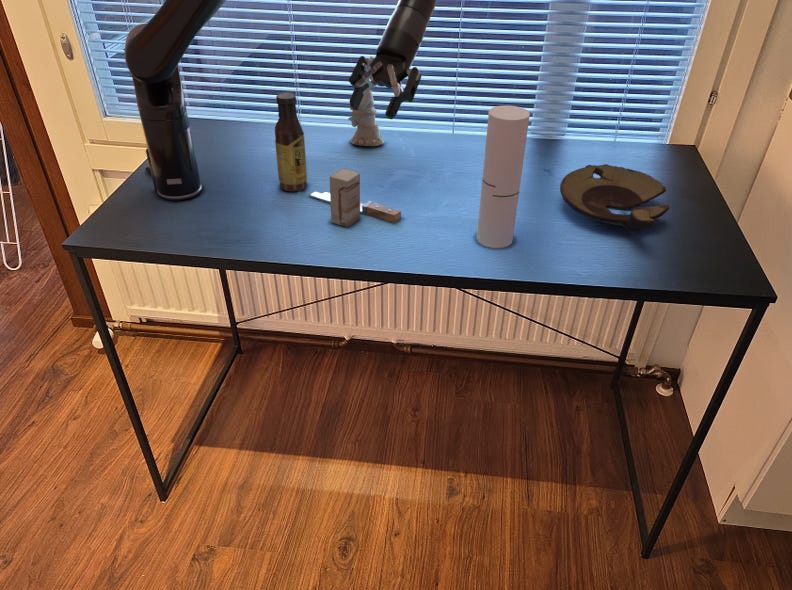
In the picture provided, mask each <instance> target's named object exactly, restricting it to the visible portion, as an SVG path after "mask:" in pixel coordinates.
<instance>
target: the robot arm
mask: <svg viewBox="0 0 792 590" xmlns="http://www.w3.org/2000/svg"><path fill="white" fill-rule="evenodd" d="M226 2H227V0H164V2H163V3H162V5H161V6H160V7H159V9H158V10H157V12H156V13H154V15H153V16H152V18H150V20H149V21H147V23H140V24H137V25H135V26H134V27H132V28H131V29H130V31H129V32H128V33H127V36H126V38H125V41H124V42H125V43H124V54H123V55H124V62H125V65H126V67H127V69H128V71H129V73H130V74H131V78H132V83H133V87H134V94H135V99H136V100H135V101H136V104H137V106H136V107H137V109H138V114H139V118H140V121H141V123H140V124H141V126H142V130H143V134H144V138H145V139H144V140H145V143H146V147H147V148H145V154H146V158H147V162H148V163H147V164H148V166H146V168H145V171H146V172H147V173H148V174H150V175H151V179H152V184H153V187H154V191H155V192H156V193H157V195H158V196H159V198H161V199H163V200H166V201H172V202H173V201H176V202H177V201H186V200H189V199H192V198H194V197H197V196H198V195H200V194H201V192H202V190H203V186H202V183H201V179H200V173H199V167H198V162H197V159H196V152H195V146H194V142H193V141H194V140H193V136H192V131H191V126H190V121H189V116H188V110H187V106H186V99H185V93H184V88H183V82H182V78H181V72H180V66H179V63H180V62H181V60H182V59H183V57H184V55H185V54H186V52H187V50H188V49H189V47H190V46H191V44H192V43H193V41H194V39H196V37H197V34H199V32H200V31H201V30H202V29H203V28H204V27H205V26H206V25H207V24H208V23H209V21H210V20H211V19H212V18H213V17H214V16H215V15H216V13H217V12H218V11H219V10H220V8H222V6H223V5H224V4H226ZM436 4H437V0H398V2H397V5H396V7H395V9H394V10H393V12H392V14H391V15H390V18H389V20H388V21H387V25H386V27H385V29H384V32H383V33H382V36H381V39H380V41H379V43H378V45H377V48H376V53H375V56H374V57H373V58H374V59H373V60H372V61H370V60H369V59H367V58H366V57H365V55H360V56H359V58H358V60H357V62H356V64H355V66H354V68H353V70H352V72H351V74H350V77H348V82H349V84H350V86H352V88H353V91H352V94H351V96H350V99H349V101H348V102H349V103H348V104H349V107H350V106H351V108H352V109H353V110H358V108H359V105H360V103H361V101H362V98H363V96H364V94H363V93H365V92H366V91H367V90H368V89H370V88H374V87H377V86H378V87H386V88H387V89H392V92H393V96H391V99H390V100H389V103H388V105H387V107H386V110H385V116H386V118H387V119H388V120H393V119H394V118H395V117H396V116H397V114H398V113H399V109H401V105H402V104H403V103H404V102H408V103H412V102H413V101H414V98H415V96H416V93H417V90H418V87H419V85H420V83H421V79H422V74H421V72H420V70H419V69H418V67H417V66H413V63H414V61H415V59H416V56H417V54H418V52H419V49H420V47H421V44H422V43H423V39H424V37H425V35H426V31H427V27H428V25H429V23H430V20H431V18H432V16H433V13H434V11H435V7H436ZM412 66H413V67H412ZM411 67H412V68H411ZM369 68H371V69H370V70H369ZM371 77H373V80H370V78H371ZM406 79H407V81H406V84H405V87H404V89H403V84H402V82H403V81H404V80H406ZM365 83H366V84H365ZM364 84H365V85H364ZM374 89H375V88H374ZM353 110H352V111H353Z"/></svg>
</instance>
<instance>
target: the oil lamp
mask: <svg viewBox="0 0 792 590" xmlns="http://www.w3.org/2000/svg"><path fill="white" fill-rule="evenodd" d="M594 174H595V175H597V176H599V177H594ZM559 192H560V195H561V198H562V199H563V201H564V203H565V204H567V206H568V207H570V208H571V209H572V210H574V211H575V212H577V213H579V214H581V215H583V216H585V217H587V218H589V219H592V220H595V221H598V222H602V223H606V224H610V225H616V226H620V227H621V226H622V227H623V228H625V229H626V231H628V232H629V233H633V234H635V233H639V232H641V231H644V230H646V229H647V228H650V227H652V226H653V225H655V224H656V223H655V220H657V219H659V218H661V217H663V215H665V214H666V213H667V212H668V211H669V210H670V205H669V204H662V205H660V204H659V205H654V206H653V205H650V206H642V207H640V206H641V205H644V204H647V203H648V202H650V201H652V200H654V199H656V198H658V197H659V196H661V195H663V194H665V193H666V192H667V188H666V186H664V184H662V182H660V181H659V180H657V179H656V178H654V177H652V176H651V175H649V174H647V173H645V172H642V171H639V170H634V169H630V168H626V167H623V166H618V165H610V164H607V163H605V164H604V163H603V164H599V165H595V164H593V165H591V164H587V165H585V167H581V168H577V169H574V170H573V171H570V172H569V173H567V174H566V175H565V176H564V177H563V178H562V179H561V182H560V185H559ZM608 207H609V208H615V209H624V210H627V209H629V210H631V212H630V213H629V214H626V213H625V212H623V214H622V213H621V214H620V213H614V212H612V211H610V209H609V208H608Z"/></svg>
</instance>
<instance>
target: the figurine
mask: <svg viewBox="0 0 792 590" xmlns="http://www.w3.org/2000/svg"><path fill="white" fill-rule="evenodd" d="M374 58H375V57H373V56H369V58H368V60H370V61H372V60H373V59H374ZM370 69H371V68H369V70H370ZM370 80H373V77H371V78H370ZM365 84H366V83H365ZM365 84H364V85H365ZM375 87H376V86H375ZM375 87H374V88H370V89H368V90H367V91H366V92H365V93H363V94H364V96H363V98H362V101H361V103H360V105H359V108H358V110H353V109H352V108H351V106H350V105H349V110H350V111H351V114H350V115H351V116H349V117H348V118H347V120H348V121H349V122H351V126H352V127H353V128H356V130H355V132H354V135H353V136H352V137H351V140H350V143H351V144H352V145H355V146H362V147H377V146H381V145H383V144H384V143H385V141H384V139H383V138H382V136H381V133H380V129H379V128H380V127H379V123H377V122H376V115H377V113H378V112H377V109H376V108H375V107H374V105H375V100H374V96H373V90H374V89H375Z"/></svg>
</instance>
